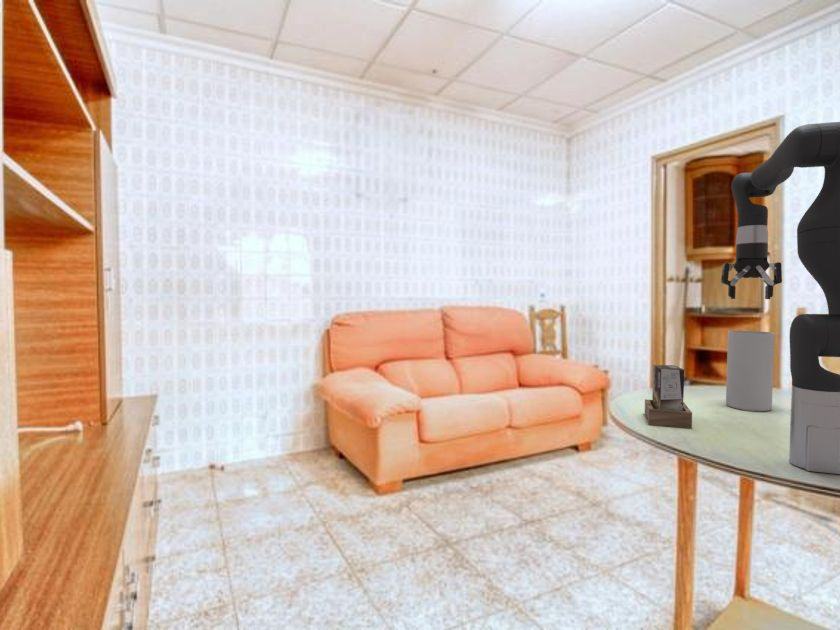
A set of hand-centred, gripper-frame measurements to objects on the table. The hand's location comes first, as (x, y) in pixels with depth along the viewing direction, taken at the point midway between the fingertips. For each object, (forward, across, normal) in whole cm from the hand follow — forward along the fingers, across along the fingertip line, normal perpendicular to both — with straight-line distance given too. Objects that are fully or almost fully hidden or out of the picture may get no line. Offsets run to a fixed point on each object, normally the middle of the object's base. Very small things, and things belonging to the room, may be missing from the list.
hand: (750, 299), depth 137 cm
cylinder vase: (+36, +6, +22) cm, 43 cm away
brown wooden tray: (+36, -22, -6) cm, 42 cm away
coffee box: (+36, -22, -6) cm, 43 cm away
